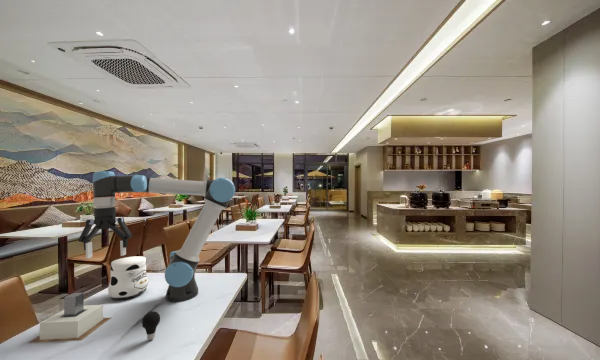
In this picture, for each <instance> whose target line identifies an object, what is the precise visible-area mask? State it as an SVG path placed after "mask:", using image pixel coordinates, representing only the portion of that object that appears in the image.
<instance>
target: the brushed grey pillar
mask: <svg viewBox="0 0 600 360" xmlns="http://www.w3.org/2000/svg"><path fill="white" fill-rule="evenodd" d="M84 294H85V293H84V292H73V293H71V294H69V295H66V296H64V299H63V300H64V301H63V307H64V308H63V310H64V317H76V316H78V315H79V314H81V313H83V310H84V306H85V302H84V301H85V300H84V299H85V297H84Z"/></svg>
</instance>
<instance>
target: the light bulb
mask: <svg viewBox="0 0 600 360" xmlns="http://www.w3.org/2000/svg"><path fill="white" fill-rule="evenodd" d="M160 322H161V315H160V314H159V312H158V311H155V310H152V311H149V312H147V313H146V314H144V316H143V317H142V320H141V326H142V327H143V329H144V330H145V334H146V339H147V340H148V341H152V340H153V339H154V338H155V337H156V330H157V328H158V325H159V324H160Z"/></svg>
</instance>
